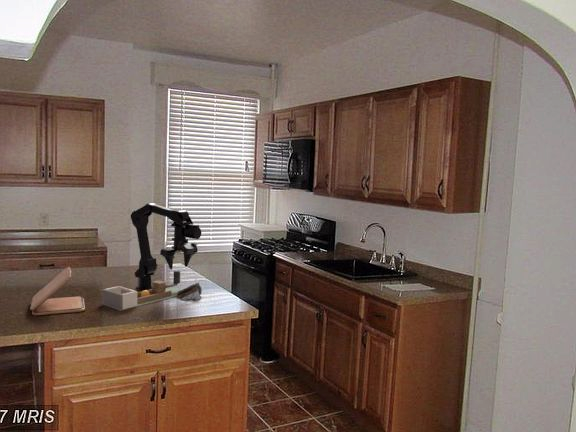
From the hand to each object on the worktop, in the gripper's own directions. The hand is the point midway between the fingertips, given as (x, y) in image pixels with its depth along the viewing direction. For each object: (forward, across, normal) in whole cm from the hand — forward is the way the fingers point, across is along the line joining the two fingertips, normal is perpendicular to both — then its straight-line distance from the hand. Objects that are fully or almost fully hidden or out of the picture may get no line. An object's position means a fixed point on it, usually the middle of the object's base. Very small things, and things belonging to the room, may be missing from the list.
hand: (178, 268), depth 239 cm
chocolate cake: (+13, 0, -9) cm, 16 cm away
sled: (+12, -3, +4) cm, 13 cm away
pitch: (+13, -14, +4) cm, 20 cm away
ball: (+11, -16, +4) cm, 20 cm away
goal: (+13, -29, +3) cm, 32 cm away
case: (+14, -50, +19) cm, 55 cm away
